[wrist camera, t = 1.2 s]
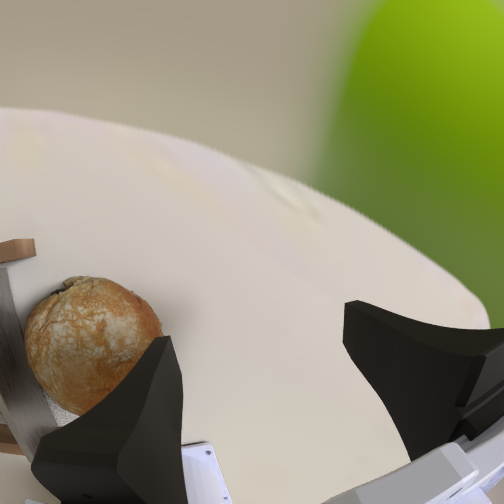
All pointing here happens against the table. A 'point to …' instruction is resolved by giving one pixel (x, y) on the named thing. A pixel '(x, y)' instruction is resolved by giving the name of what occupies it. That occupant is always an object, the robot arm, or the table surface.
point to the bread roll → (87, 340)
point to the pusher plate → (19, 381)
